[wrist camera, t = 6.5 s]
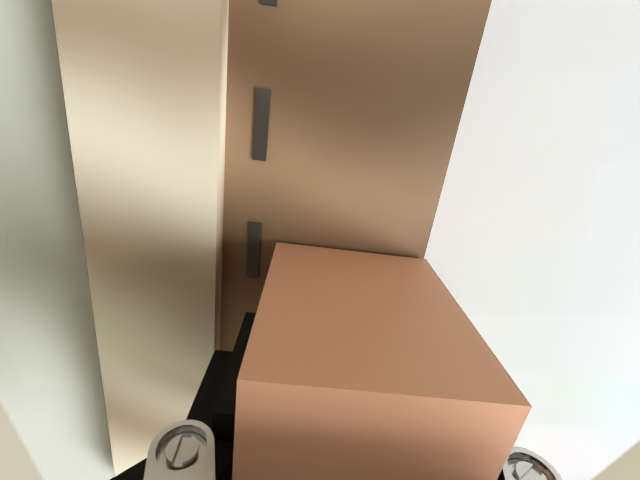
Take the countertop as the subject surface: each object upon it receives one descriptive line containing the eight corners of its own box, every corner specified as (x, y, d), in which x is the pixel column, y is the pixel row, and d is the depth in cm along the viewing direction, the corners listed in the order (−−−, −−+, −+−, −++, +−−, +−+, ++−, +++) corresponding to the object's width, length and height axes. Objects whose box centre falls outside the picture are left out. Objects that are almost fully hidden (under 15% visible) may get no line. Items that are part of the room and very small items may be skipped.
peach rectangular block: (276, 242, 11) (237, 379, 6) (425, 259, 11) (531, 406, 6) (262, 403, 14) (225, 608, 8) (384, 413, 14) (430, 619, 8)
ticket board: (62, -387, 7) (-41, -587, 5) (541, -285, 8) (622, -427, 6) (141, 474, 18) (117, 525, 15) (351, 490, 18) (355, 541, 16)
